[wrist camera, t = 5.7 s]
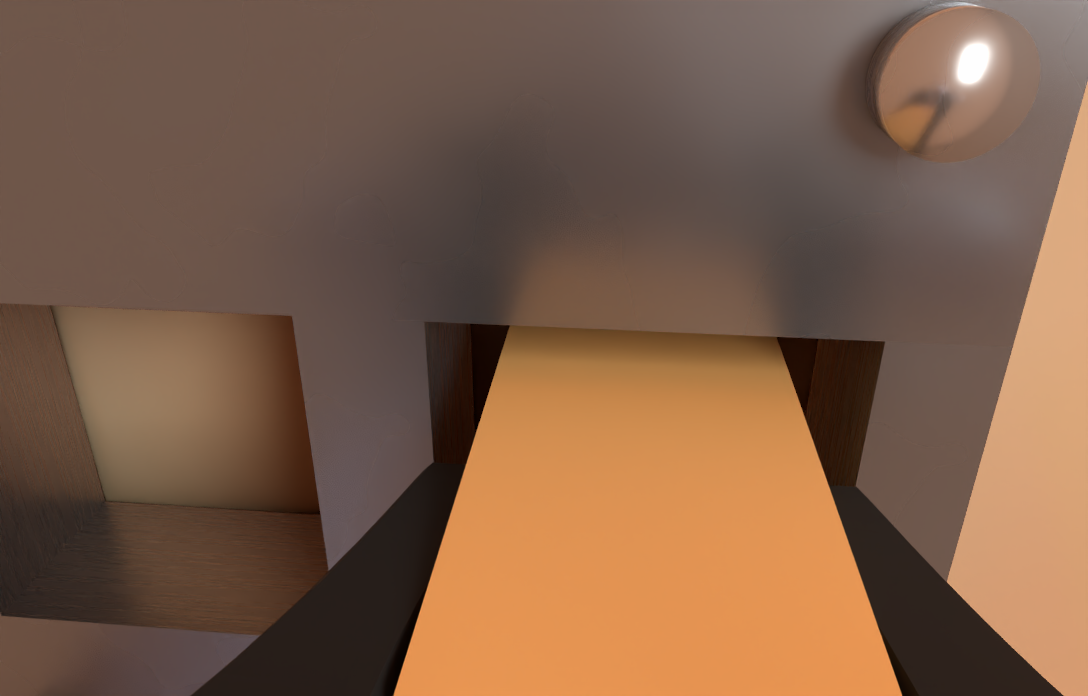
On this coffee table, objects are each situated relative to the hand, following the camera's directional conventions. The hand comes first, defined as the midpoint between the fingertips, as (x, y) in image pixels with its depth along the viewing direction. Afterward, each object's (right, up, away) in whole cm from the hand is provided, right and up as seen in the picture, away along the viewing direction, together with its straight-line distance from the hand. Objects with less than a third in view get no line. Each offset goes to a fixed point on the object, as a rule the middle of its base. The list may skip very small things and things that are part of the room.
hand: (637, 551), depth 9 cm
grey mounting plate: (-3, +1, +3) cm, 4 cm away
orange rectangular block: (0, +1, +3) cm, 3 cm away
